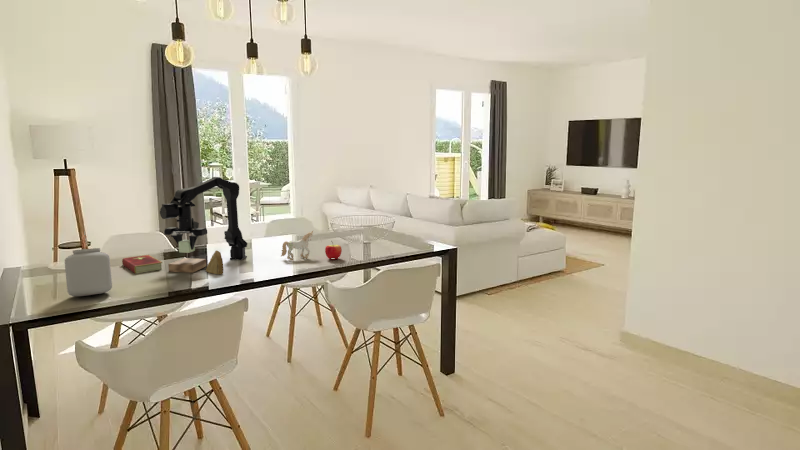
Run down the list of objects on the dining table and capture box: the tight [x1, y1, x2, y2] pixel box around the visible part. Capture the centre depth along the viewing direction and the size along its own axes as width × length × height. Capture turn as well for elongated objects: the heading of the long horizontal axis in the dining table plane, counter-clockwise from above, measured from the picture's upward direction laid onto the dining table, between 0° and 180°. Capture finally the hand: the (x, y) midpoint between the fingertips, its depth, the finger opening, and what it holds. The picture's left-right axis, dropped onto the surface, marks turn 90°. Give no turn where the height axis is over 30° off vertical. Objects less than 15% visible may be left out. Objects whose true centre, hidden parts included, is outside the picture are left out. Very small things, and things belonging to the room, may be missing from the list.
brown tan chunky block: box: [205, 250, 224, 275], centre depth 227 cm, size 11×9×10 cm
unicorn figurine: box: [280, 230, 314, 261], centre depth 256 cm, size 7×20×13 cm, turn 129°
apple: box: [324, 241, 343, 261], centre depth 255 cm, size 8×8×10 cm
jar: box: [64, 231, 113, 297], centre depth 191 cm, size 19×15×25 cm
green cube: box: [178, 239, 196, 254], centre depth 233 cm, size 5×5×5 cm
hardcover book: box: [121, 254, 163, 274], centre depth 236 cm, size 12×21×4 cm, turn 43°
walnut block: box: [168, 257, 207, 273], centre depth 234 cm, size 12×12×4 cm
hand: (187, 249), depth 233 cm, fingers closed on green cube, 5 cm apart
